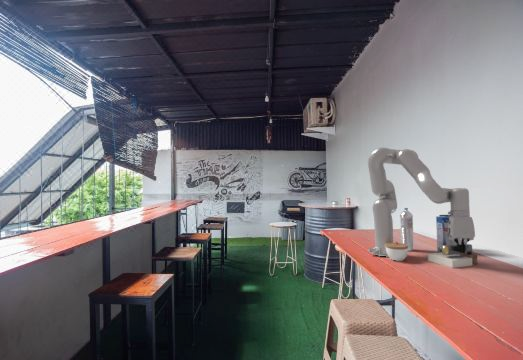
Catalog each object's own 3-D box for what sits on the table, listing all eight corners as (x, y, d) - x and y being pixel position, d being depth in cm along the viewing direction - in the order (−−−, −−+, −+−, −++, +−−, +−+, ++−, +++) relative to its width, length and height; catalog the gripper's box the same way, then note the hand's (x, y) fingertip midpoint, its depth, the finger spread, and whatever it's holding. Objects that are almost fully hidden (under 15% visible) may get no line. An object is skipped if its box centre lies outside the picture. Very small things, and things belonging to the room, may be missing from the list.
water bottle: (411, 248, 176) (409, 207, 176) (415, 251, 169) (414, 208, 170) (399, 248, 177) (397, 207, 177) (403, 251, 170) (402, 208, 170)
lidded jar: (386, 261, 148) (386, 243, 149) (385, 256, 159) (384, 239, 159) (410, 263, 145) (409, 244, 145) (406, 257, 155) (406, 240, 155)
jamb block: (471, 264, 139) (470, 255, 140) (459, 261, 145) (459, 252, 145) (477, 264, 141) (477, 254, 141) (465, 261, 146) (465, 251, 146)
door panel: (452, 267, 135) (452, 259, 135) (428, 260, 149) (427, 253, 149) (472, 265, 138) (472, 257, 138) (446, 258, 152) (446, 251, 152)
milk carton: (443, 253, 163) (442, 217, 164) (437, 250, 169) (436, 216, 170) (461, 252, 163) (460, 217, 163) (454, 250, 169) (453, 216, 169)
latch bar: (467, 251, 145) (467, 243, 145) (474, 253, 141) (474, 244, 141) (440, 253, 143) (439, 245, 143) (446, 255, 139) (446, 246, 139)
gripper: (447, 215, 136) (448, 254, 136) (481, 214, 134) (483, 254, 134) (439, 213, 144) (440, 250, 143) (472, 213, 142) (473, 250, 142)
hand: (461, 252), depth 139 cm, fingers closed
